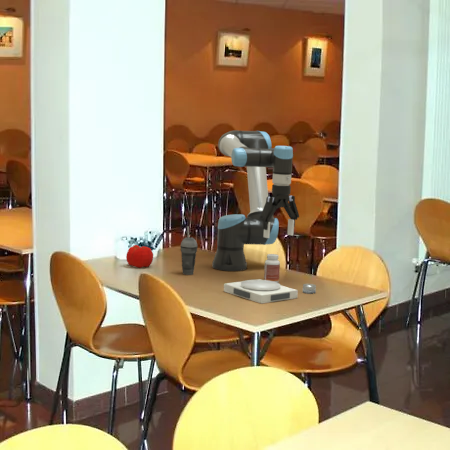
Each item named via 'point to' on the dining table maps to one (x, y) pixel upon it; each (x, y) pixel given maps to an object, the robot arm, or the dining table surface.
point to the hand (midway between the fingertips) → (278, 236)
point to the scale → (260, 290)
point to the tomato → (139, 256)
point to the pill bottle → (272, 268)
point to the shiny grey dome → (309, 288)
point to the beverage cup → (188, 254)
